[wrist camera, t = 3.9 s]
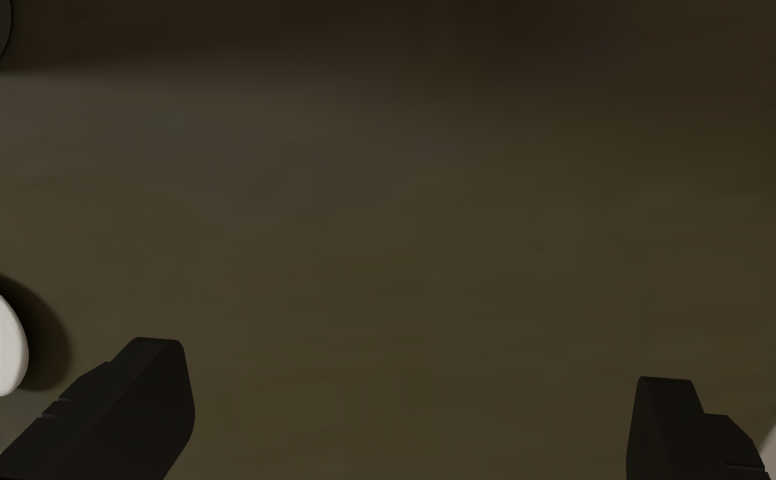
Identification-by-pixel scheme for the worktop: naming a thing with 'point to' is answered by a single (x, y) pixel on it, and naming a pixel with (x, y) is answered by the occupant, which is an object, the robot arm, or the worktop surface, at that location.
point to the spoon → (11, 349)
